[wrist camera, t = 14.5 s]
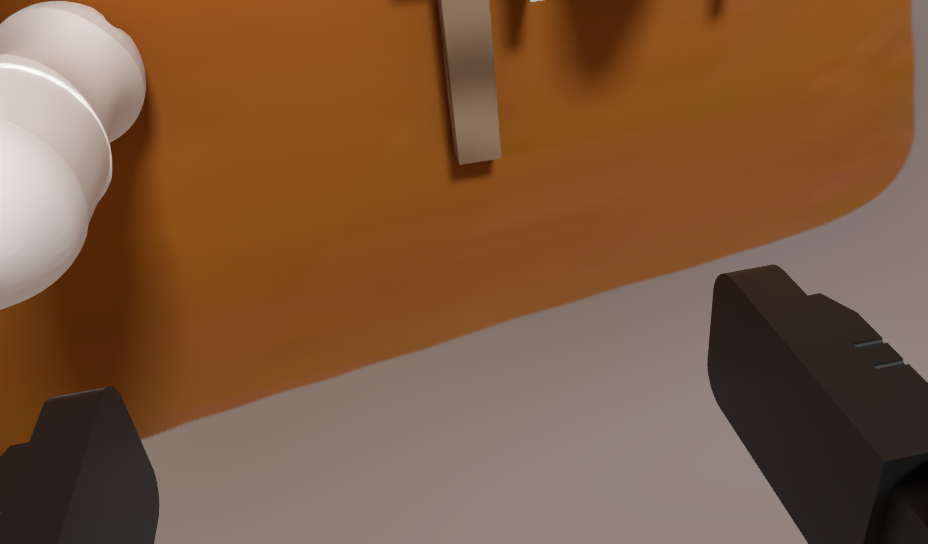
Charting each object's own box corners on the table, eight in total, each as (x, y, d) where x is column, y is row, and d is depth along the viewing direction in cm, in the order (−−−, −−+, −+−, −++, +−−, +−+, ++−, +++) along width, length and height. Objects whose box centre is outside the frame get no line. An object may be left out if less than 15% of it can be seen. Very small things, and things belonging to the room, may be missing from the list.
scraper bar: (394, -72, 42) (401, -60, 39) (508, -87, 43) (522, -77, 40) (424, 155, 49) (432, 177, 46) (522, 139, 50) (534, 160, 47)
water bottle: (181, 56, 43) (78, 336, 23) (101, 150, 45) (-61, 489, 24) (55, -43, 40) (-204, 181, 19) (-26, 64, 42) (-341, 373, 21)
